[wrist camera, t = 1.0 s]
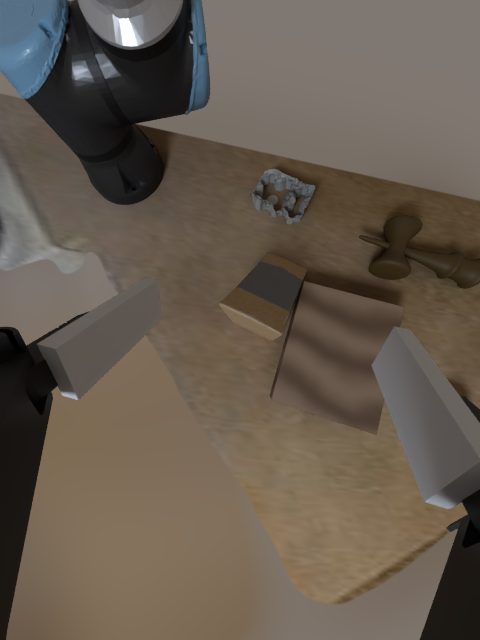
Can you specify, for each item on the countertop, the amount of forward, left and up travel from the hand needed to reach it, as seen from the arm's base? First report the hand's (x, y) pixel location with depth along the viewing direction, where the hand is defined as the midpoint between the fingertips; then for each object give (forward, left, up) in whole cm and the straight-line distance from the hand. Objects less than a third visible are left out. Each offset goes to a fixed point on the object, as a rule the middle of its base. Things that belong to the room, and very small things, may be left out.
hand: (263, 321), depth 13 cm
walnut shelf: (-2, +12, -28) cm, 31 cm away
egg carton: (-28, -4, -28) cm, 40 cm away
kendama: (-22, +21, -28) cm, 42 cm away
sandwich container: (-9, 0, -28) cm, 30 cm away
